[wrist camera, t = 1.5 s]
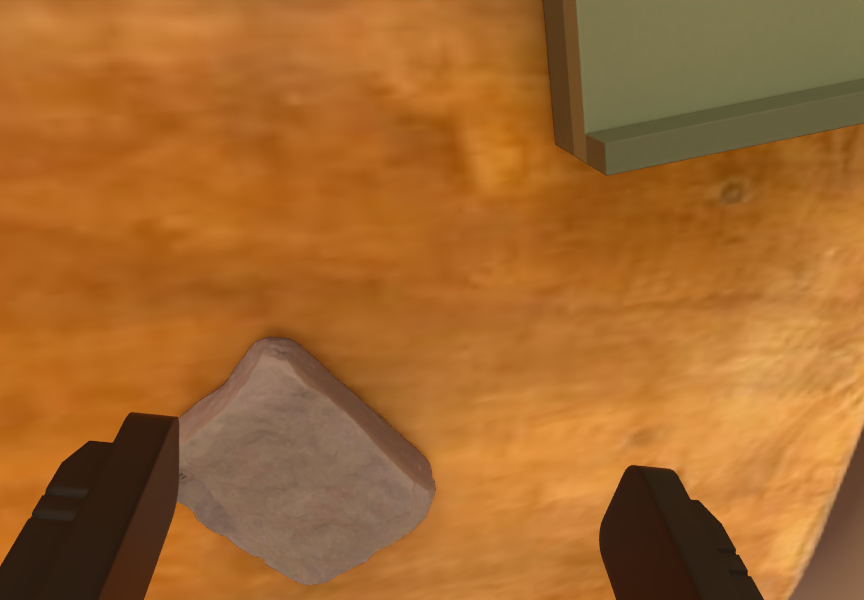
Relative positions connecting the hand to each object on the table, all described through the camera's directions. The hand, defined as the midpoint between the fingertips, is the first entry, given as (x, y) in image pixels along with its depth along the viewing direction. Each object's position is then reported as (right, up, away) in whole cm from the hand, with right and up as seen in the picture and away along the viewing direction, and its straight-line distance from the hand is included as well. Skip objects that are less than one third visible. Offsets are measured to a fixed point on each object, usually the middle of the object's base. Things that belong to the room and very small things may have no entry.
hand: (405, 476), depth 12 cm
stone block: (-7, -5, +22) cm, 23 cm away
